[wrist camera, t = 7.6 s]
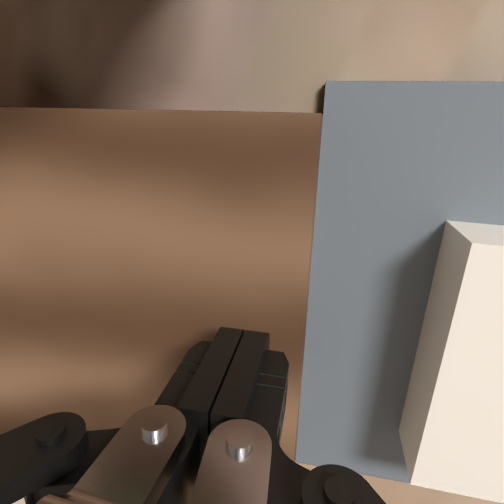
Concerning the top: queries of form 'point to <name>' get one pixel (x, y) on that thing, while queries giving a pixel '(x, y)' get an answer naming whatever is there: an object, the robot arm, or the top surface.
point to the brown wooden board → (147, 251)
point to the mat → (386, 251)
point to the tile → (460, 370)
